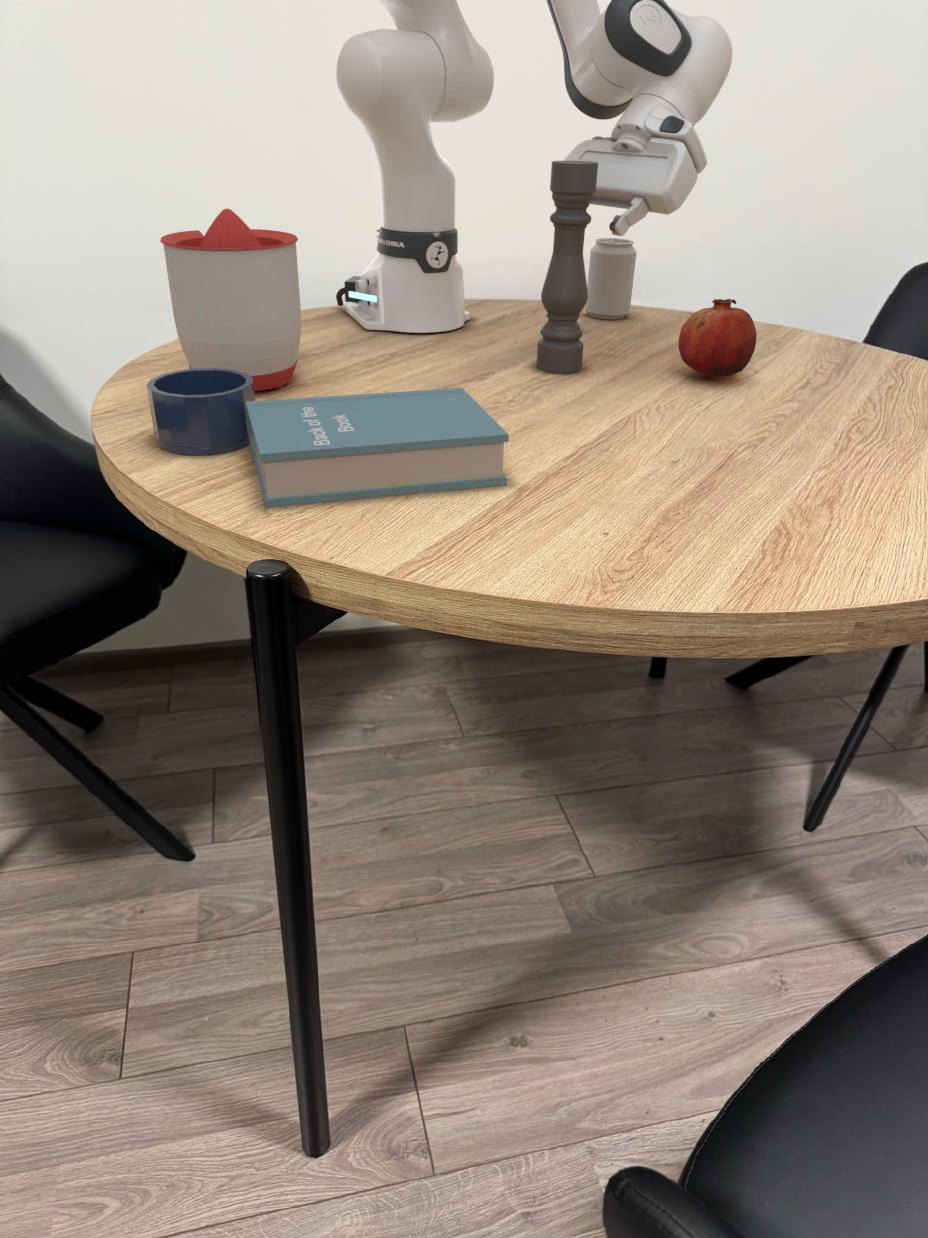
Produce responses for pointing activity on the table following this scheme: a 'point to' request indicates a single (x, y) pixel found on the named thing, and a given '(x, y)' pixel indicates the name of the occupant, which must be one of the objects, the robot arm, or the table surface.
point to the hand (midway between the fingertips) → (587, 227)
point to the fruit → (718, 340)
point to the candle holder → (566, 267)
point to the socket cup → (201, 410)
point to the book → (373, 446)
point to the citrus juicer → (236, 299)
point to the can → (610, 278)
